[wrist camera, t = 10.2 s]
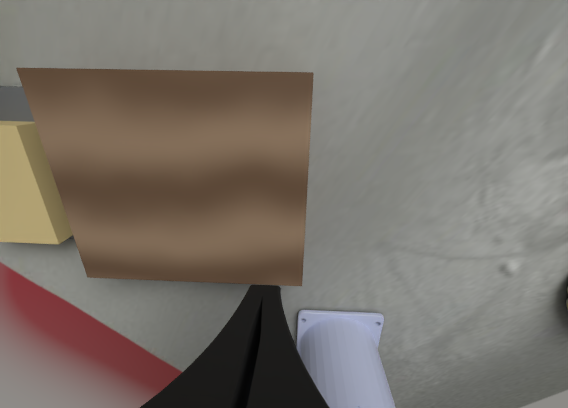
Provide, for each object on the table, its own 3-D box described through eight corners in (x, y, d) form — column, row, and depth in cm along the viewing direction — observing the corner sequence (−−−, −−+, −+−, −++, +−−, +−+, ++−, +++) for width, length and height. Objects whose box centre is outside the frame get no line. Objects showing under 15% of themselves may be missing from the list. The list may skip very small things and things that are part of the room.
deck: (300, 254, 23) (301, 286, 20) (119, 248, 24) (87, 277, 20) (309, 75, 18) (313, 72, 14) (72, 71, 18) (16, 67, 14)
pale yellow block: (-16, 241, 21) (9, 228, 23) (58, 244, 21) (77, 231, 23) (-73, 122, 18) (-38, 119, 19) (15, 125, 17) (42, 122, 19)
